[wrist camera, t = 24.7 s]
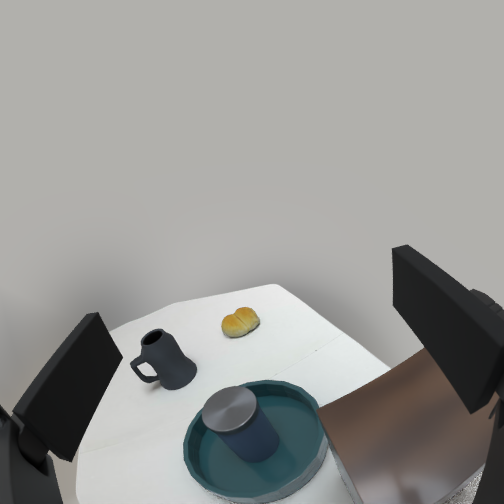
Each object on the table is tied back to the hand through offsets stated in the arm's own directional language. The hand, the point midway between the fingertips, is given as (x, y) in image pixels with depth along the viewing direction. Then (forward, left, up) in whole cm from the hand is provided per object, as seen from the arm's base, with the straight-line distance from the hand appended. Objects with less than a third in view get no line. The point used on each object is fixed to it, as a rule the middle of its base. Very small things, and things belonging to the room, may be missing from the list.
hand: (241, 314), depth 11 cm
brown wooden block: (-3, -8, -31) cm, 32 cm away
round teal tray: (+13, +7, -31) cm, 34 cm away
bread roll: (+46, +4, -31) cm, 56 cm away
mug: (+36, +22, -31) cm, 52 cm away
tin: (+13, +7, -30) cm, 34 cm away
